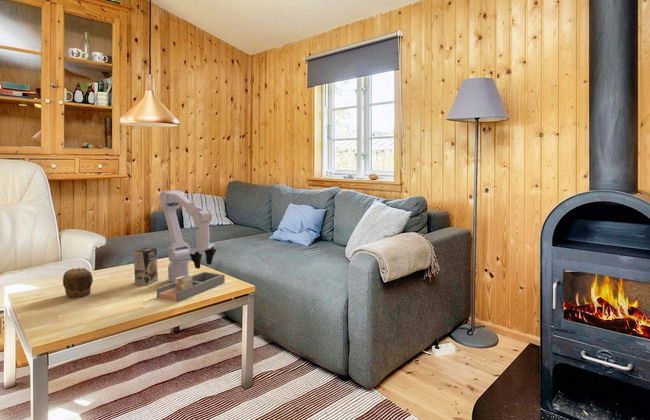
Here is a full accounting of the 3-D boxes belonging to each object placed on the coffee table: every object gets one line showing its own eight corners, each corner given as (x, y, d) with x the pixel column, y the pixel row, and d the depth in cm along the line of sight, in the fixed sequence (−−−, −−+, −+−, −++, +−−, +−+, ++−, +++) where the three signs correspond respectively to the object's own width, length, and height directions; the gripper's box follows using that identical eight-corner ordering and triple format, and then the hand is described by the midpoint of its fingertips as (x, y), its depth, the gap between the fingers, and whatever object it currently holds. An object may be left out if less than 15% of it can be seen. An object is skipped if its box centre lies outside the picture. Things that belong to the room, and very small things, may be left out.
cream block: (175, 289, 178) (175, 278, 177) (184, 286, 182) (183, 275, 181) (184, 291, 175) (183, 279, 175) (192, 287, 180) (192, 276, 179)
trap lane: (157, 297, 173) (156, 288, 173) (204, 279, 199) (204, 271, 199) (178, 301, 168) (178, 292, 167) (224, 282, 194) (224, 274, 194)
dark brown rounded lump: (62, 301, 167) (60, 273, 166) (65, 293, 177) (63, 266, 176) (93, 297, 172) (91, 270, 171) (94, 290, 182) (92, 264, 181)
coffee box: (146, 286, 188) (145, 252, 186) (134, 285, 190) (132, 251, 188) (158, 280, 197) (157, 247, 195) (146, 279, 199) (145, 247, 197)
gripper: (198, 240, 175) (199, 271, 177) (220, 235, 188) (220, 263, 190) (185, 239, 178) (186, 269, 180) (208, 233, 191) (208, 261, 193)
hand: (203, 266), depth 185 cm, fingers open, 7 cm apart
